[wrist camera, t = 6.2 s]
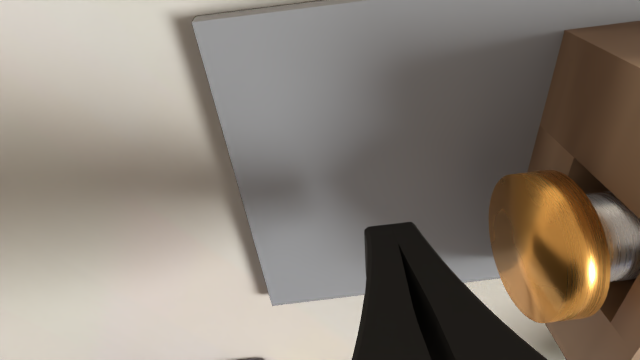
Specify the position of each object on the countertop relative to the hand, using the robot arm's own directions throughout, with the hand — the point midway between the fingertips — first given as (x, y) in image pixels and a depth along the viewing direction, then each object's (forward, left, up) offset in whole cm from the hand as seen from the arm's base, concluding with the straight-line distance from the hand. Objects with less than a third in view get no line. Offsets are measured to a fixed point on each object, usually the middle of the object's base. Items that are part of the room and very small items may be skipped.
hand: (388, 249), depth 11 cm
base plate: (+4, 0, -4) cm, 5 cm away
